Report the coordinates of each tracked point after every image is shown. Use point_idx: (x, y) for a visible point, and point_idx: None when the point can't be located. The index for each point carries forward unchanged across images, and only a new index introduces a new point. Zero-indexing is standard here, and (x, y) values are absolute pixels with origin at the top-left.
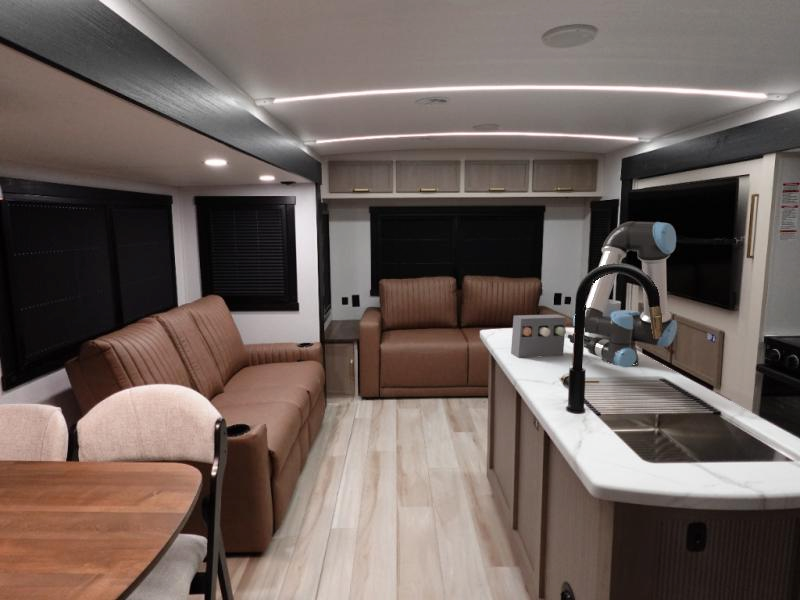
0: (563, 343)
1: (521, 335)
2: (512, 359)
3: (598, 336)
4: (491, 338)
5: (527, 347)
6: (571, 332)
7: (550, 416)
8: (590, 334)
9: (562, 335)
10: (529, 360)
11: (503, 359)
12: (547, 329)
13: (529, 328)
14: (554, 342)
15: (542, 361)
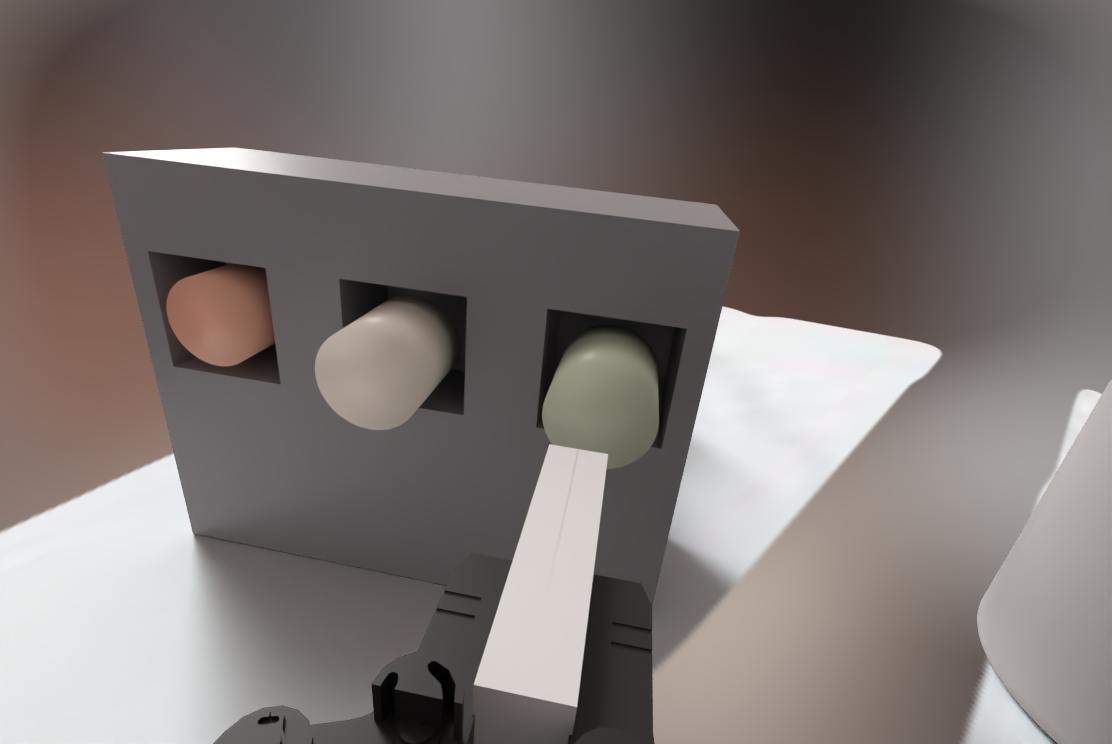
0: (661, 528)
1: (163, 347)
2: (89, 544)
3: None
4: None
5: (256, 472)
6: (583, 520)
7: None
8: (1072, 504)
9: None
10: (172, 620)
11: (31, 519)
12: (373, 344)
13: (222, 289)
14: None
15: (242, 700)
